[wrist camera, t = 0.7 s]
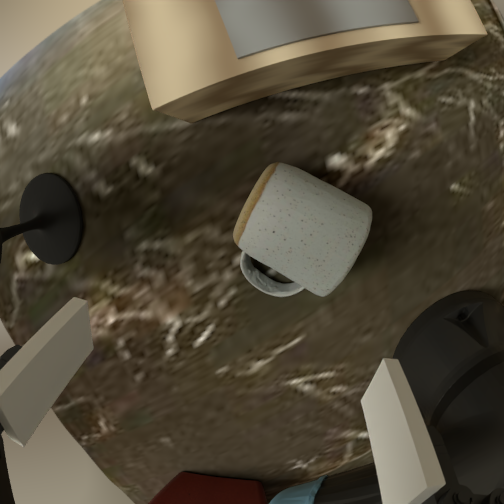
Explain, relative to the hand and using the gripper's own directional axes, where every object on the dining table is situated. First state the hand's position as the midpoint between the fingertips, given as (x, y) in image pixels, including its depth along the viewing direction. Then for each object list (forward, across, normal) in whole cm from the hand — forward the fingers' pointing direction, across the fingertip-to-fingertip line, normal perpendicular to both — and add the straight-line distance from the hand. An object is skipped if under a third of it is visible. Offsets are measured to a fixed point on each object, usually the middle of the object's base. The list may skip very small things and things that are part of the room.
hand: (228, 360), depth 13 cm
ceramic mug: (+16, -3, -1) cm, 16 cm away
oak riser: (+17, -1, -20) cm, 26 cm away
